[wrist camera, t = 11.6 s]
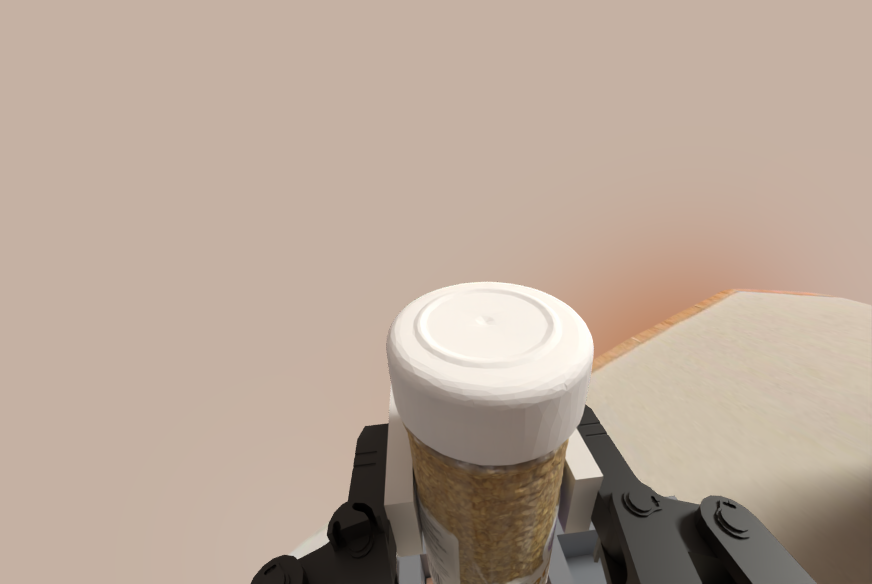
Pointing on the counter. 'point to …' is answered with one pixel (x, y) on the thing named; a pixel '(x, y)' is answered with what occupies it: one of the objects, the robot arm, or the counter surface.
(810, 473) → the counter surface
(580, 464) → the robot arm
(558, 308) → the sprinkles bottle
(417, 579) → the bottle caddy
